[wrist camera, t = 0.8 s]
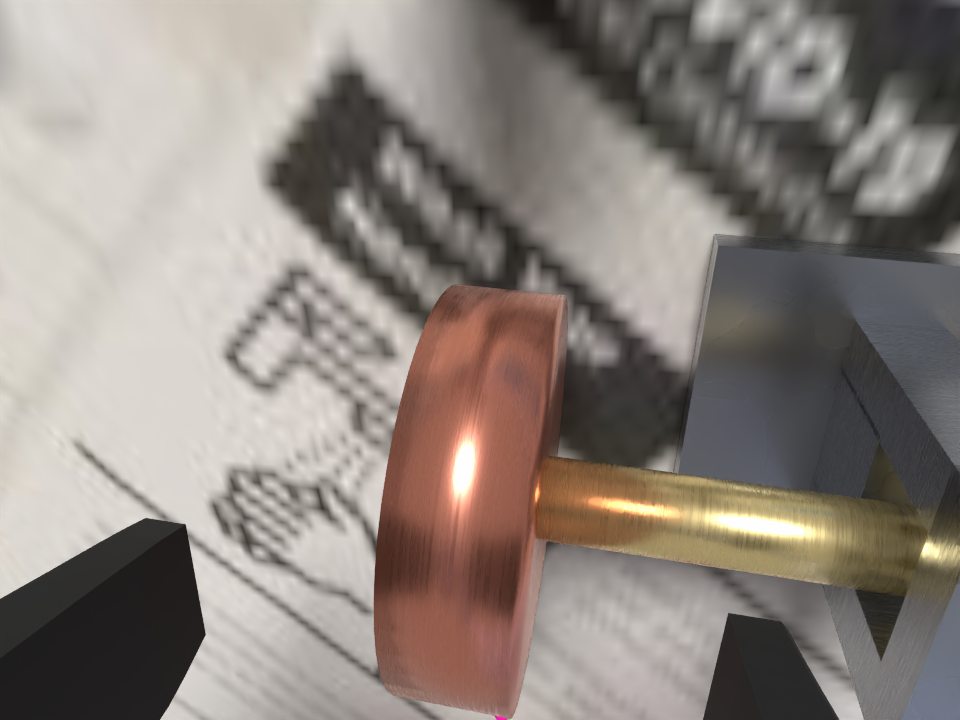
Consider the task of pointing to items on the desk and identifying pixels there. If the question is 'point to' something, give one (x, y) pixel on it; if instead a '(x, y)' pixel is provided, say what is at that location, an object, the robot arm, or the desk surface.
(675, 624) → the desk surface
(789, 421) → the eye post
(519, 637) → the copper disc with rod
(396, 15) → the desk surface
